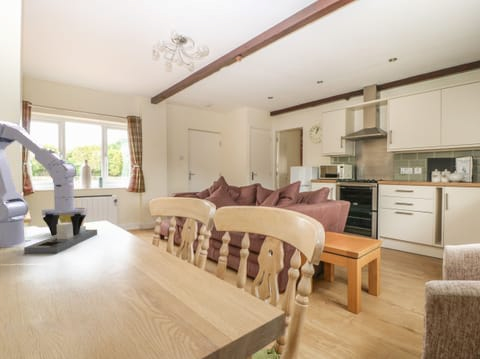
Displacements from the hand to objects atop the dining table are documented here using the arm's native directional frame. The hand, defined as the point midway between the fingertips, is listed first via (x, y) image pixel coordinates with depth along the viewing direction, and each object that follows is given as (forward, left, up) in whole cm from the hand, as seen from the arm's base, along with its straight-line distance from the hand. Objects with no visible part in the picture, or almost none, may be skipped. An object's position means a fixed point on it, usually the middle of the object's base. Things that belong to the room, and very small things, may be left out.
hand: (65, 235), depth 93 cm
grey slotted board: (0, 0, -3) cm, 3 cm away
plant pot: (-9, +19, -4) cm, 21 cm away
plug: (0, 0, -3) cm, 3 cm away
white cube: (0, +8, -3) cm, 9 cm away
